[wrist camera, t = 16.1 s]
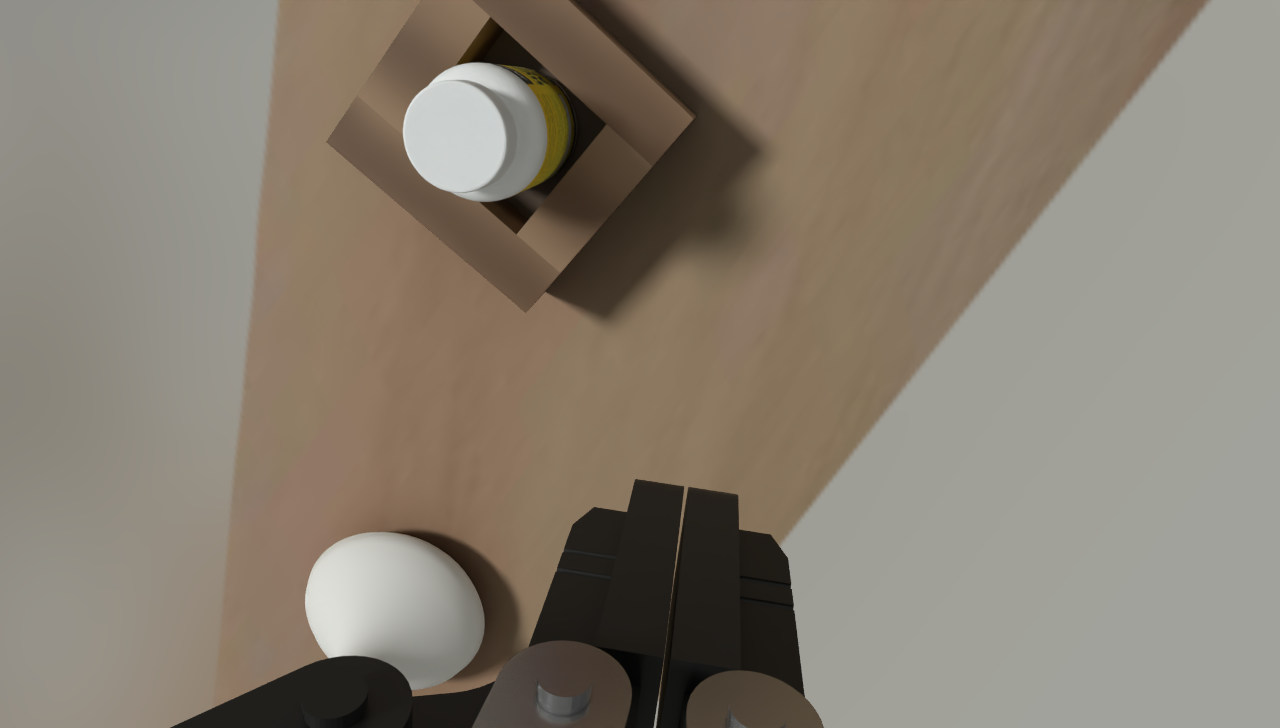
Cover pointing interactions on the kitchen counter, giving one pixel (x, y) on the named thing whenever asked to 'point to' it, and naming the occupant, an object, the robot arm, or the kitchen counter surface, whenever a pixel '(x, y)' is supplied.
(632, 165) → the socket block
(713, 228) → the kitchen counter surface
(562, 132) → the supplement bottle
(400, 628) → the flower in vase
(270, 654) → the kitchen counter surface
